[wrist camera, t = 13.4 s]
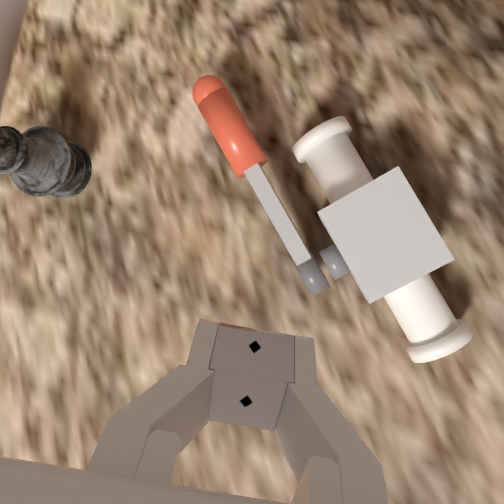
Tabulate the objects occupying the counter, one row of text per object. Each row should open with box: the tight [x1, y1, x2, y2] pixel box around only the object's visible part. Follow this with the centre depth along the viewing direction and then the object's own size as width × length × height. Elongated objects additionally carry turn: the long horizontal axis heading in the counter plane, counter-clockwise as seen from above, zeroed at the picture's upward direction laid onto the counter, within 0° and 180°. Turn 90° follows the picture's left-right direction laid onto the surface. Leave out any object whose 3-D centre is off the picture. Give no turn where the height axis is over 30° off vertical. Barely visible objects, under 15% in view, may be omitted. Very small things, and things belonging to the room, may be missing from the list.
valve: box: [292, 116, 474, 363], centre depth 31 cm, size 18×7×6 cm, turn 29°
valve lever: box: [193, 75, 330, 296], centre depth 32 cm, size 3×3×18 cm
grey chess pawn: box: [0, 126, 91, 198], centre depth 34 cm, size 6×6×12 cm
